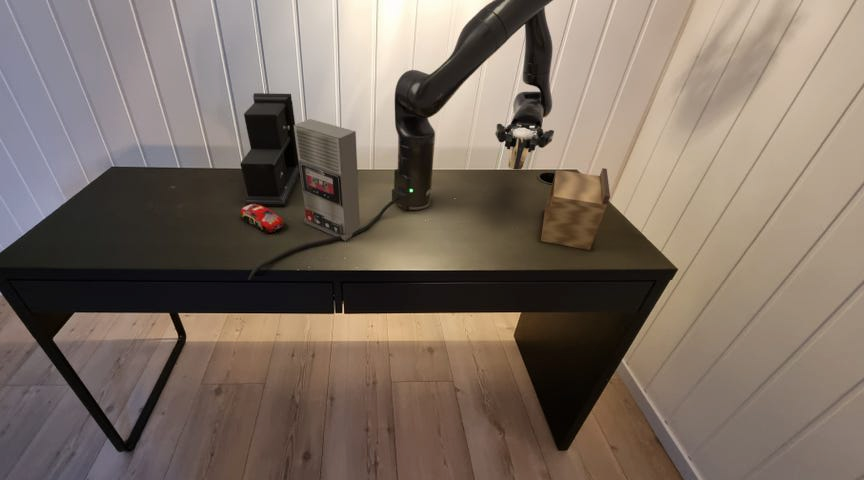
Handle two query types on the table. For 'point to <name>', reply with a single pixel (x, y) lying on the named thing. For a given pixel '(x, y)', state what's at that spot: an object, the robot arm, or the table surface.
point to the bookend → (270, 150)
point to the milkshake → (519, 147)
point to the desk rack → (575, 208)
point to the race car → (262, 218)
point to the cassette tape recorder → (329, 177)
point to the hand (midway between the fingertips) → (519, 146)
